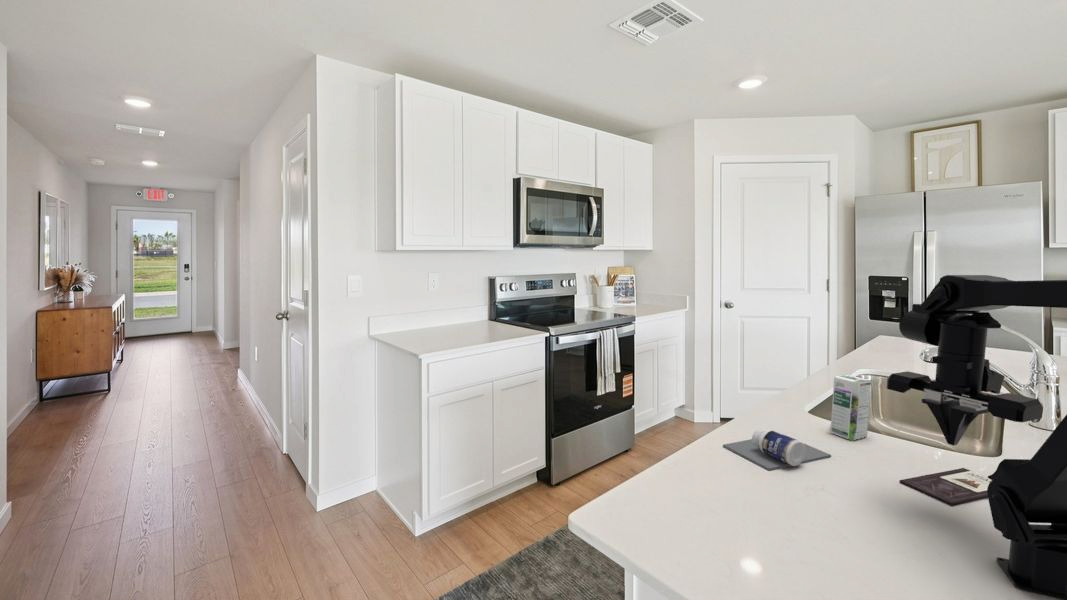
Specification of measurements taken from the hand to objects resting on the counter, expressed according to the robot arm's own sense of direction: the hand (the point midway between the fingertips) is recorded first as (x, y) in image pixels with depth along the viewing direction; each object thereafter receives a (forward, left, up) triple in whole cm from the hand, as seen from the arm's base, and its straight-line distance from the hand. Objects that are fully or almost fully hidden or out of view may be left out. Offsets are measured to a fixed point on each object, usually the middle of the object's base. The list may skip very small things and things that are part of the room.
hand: (952, 444), depth 79 cm
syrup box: (+36, +9, -13) cm, 39 cm away
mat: (+18, +25, -13) cm, 33 cm away
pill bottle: (+10, +21, -10) cm, 25 cm away
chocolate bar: (+15, -6, -14) cm, 21 cm away
